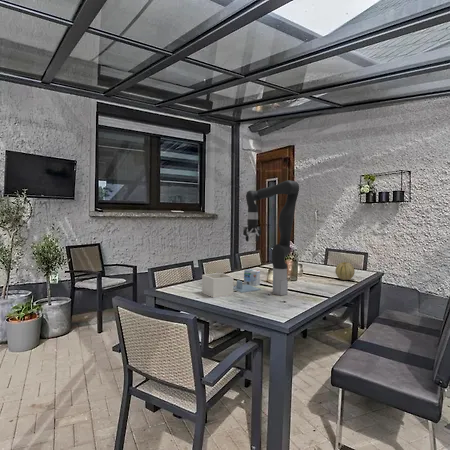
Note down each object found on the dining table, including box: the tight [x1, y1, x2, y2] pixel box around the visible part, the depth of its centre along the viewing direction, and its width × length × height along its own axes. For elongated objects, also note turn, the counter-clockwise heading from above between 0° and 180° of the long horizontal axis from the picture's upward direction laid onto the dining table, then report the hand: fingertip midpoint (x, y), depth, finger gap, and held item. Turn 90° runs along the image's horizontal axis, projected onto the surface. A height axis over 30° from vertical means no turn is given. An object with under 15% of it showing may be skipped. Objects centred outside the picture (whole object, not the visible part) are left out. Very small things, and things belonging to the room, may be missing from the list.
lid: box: [233, 279, 261, 294], centre depth 237 cm, size 16×16×7 cm
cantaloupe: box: [335, 261, 356, 281], centre depth 273 cm, size 15×15×15 cm
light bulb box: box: [243, 268, 261, 287], centre depth 251 cm, size 11×7×11 cm, turn 62°
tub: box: [201, 272, 234, 299], centre depth 221 cm, size 15×15×12 cm
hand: (252, 241), depth 242 cm, fingers open, 8 cm apart
